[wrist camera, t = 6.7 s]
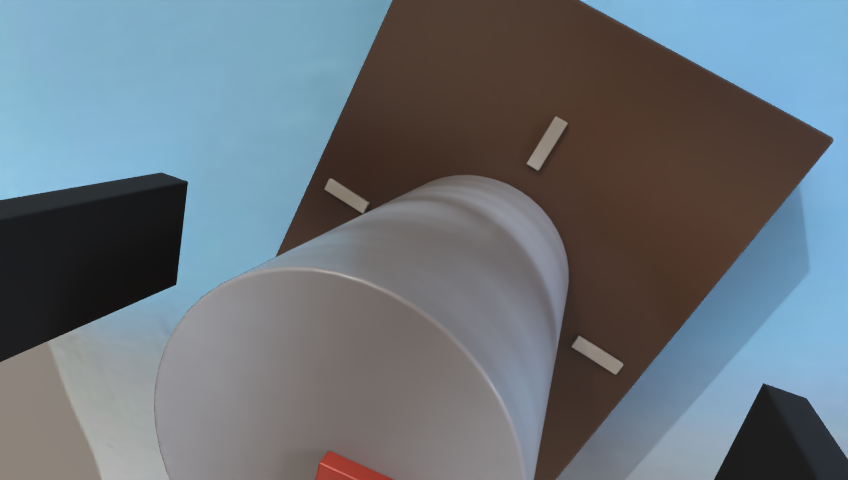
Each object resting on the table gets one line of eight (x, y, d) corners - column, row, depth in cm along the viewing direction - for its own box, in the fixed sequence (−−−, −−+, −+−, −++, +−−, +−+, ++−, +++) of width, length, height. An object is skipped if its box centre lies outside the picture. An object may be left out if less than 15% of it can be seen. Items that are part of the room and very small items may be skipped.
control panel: (457, -53, 17) (426, -84, 14) (794, 131, 15) (839, 139, 12) (294, 285, 21) (245, 315, 19) (542, 452, 20) (531, 512, 17)
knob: (359, 323, 17) (122, 544, 9) (400, 149, 16) (155, 213, 7) (533, 391, 16) (454, 722, 8) (598, 210, 14) (592, 376, 6)
